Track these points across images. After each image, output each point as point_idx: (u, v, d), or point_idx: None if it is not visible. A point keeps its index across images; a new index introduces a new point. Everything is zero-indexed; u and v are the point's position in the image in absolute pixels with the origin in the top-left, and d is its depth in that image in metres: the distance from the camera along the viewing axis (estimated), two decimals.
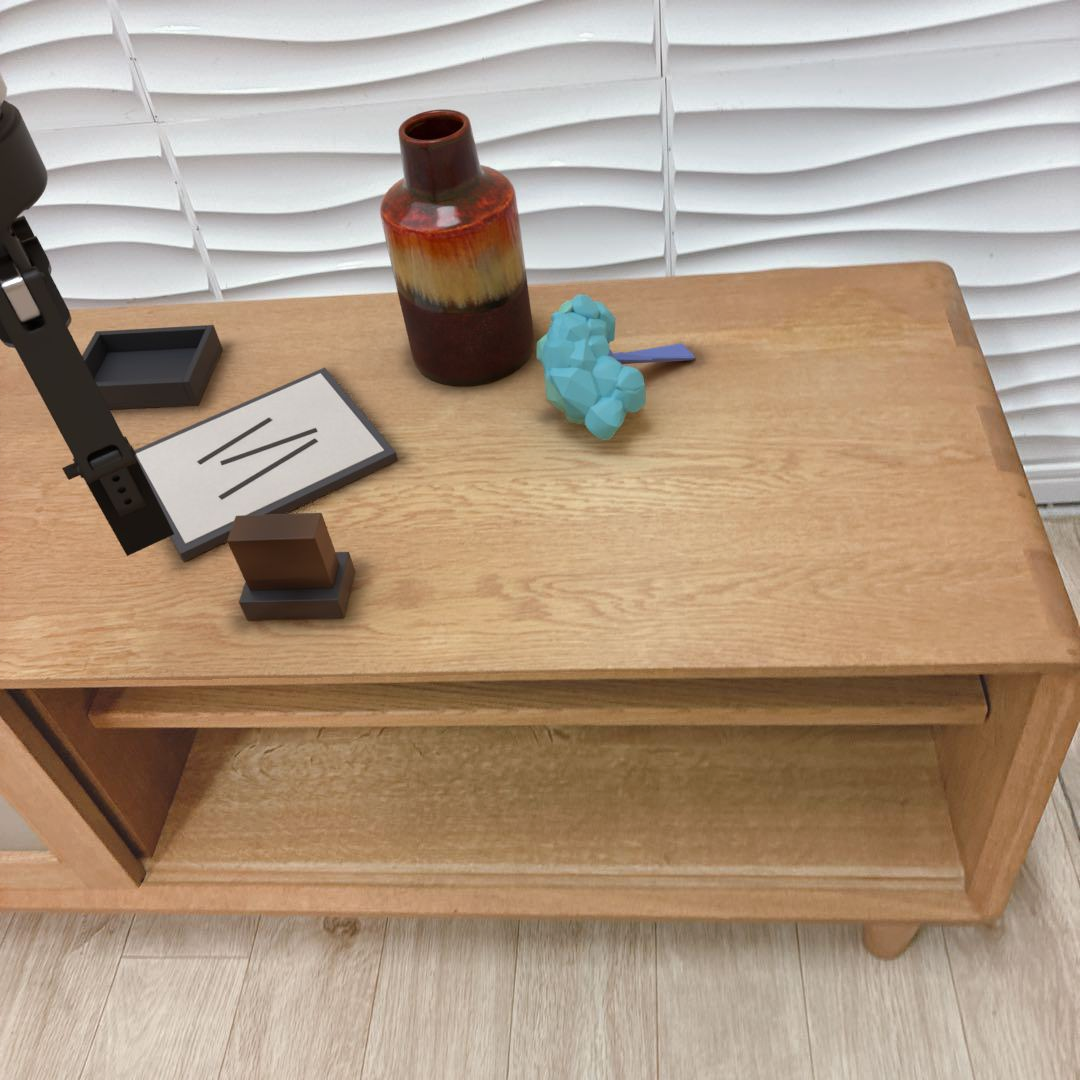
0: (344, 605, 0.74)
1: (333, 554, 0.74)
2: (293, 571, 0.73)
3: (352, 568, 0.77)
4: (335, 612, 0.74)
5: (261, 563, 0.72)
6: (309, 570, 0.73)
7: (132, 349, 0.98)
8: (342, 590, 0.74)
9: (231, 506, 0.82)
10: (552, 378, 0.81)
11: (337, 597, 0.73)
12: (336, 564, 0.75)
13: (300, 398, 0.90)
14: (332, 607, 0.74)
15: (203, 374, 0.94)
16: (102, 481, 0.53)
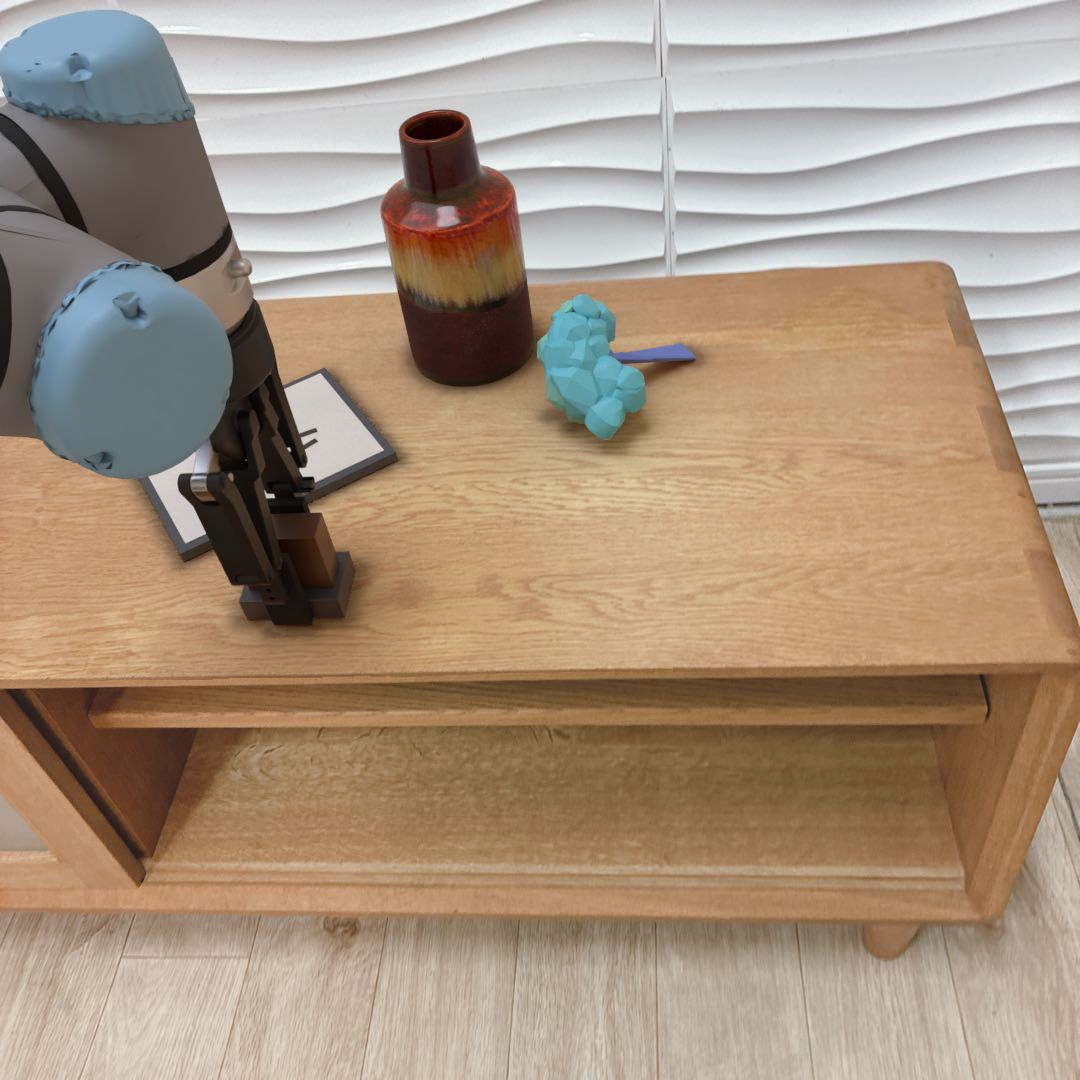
0: (344, 604, 0.74)
1: (333, 554, 0.74)
2: None
3: (352, 568, 0.77)
4: (335, 612, 0.74)
5: None
6: (309, 570, 0.73)
7: None
8: (342, 590, 0.74)
9: None
10: (552, 378, 0.81)
11: (337, 596, 0.73)
12: (336, 564, 0.75)
13: (300, 398, 0.90)
14: (332, 606, 0.74)
15: None
16: None
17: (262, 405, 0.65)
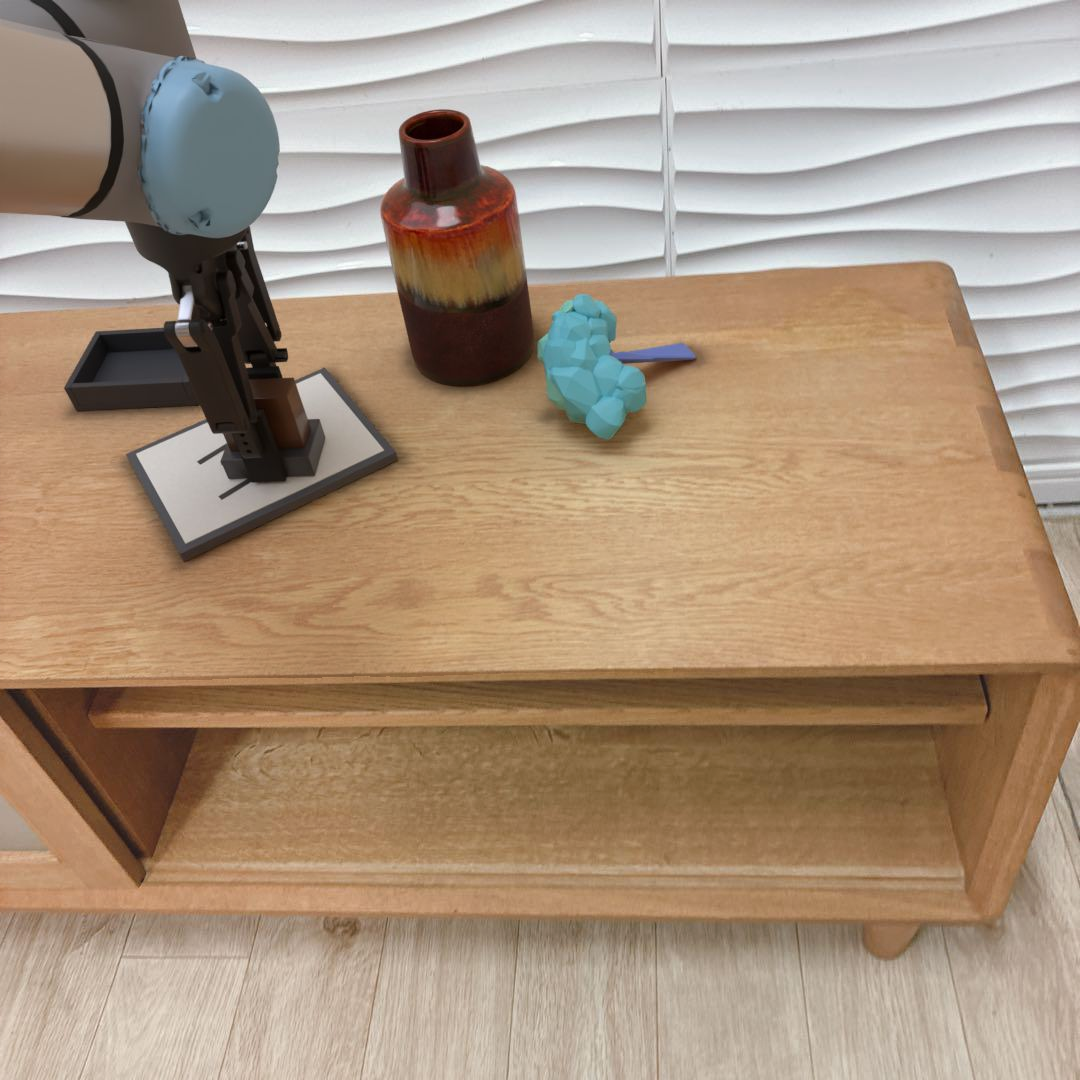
0: (314, 464, 0.83)
1: (304, 418, 0.83)
2: None
3: (322, 434, 0.86)
4: (307, 470, 0.83)
5: None
6: (283, 430, 0.81)
7: (132, 349, 0.98)
8: (313, 450, 0.83)
9: (231, 506, 0.82)
10: (553, 377, 0.81)
11: (308, 454, 0.82)
12: (307, 428, 0.84)
13: None
14: (303, 464, 0.82)
15: None
16: (233, 433, 0.78)
17: (239, 270, 0.74)
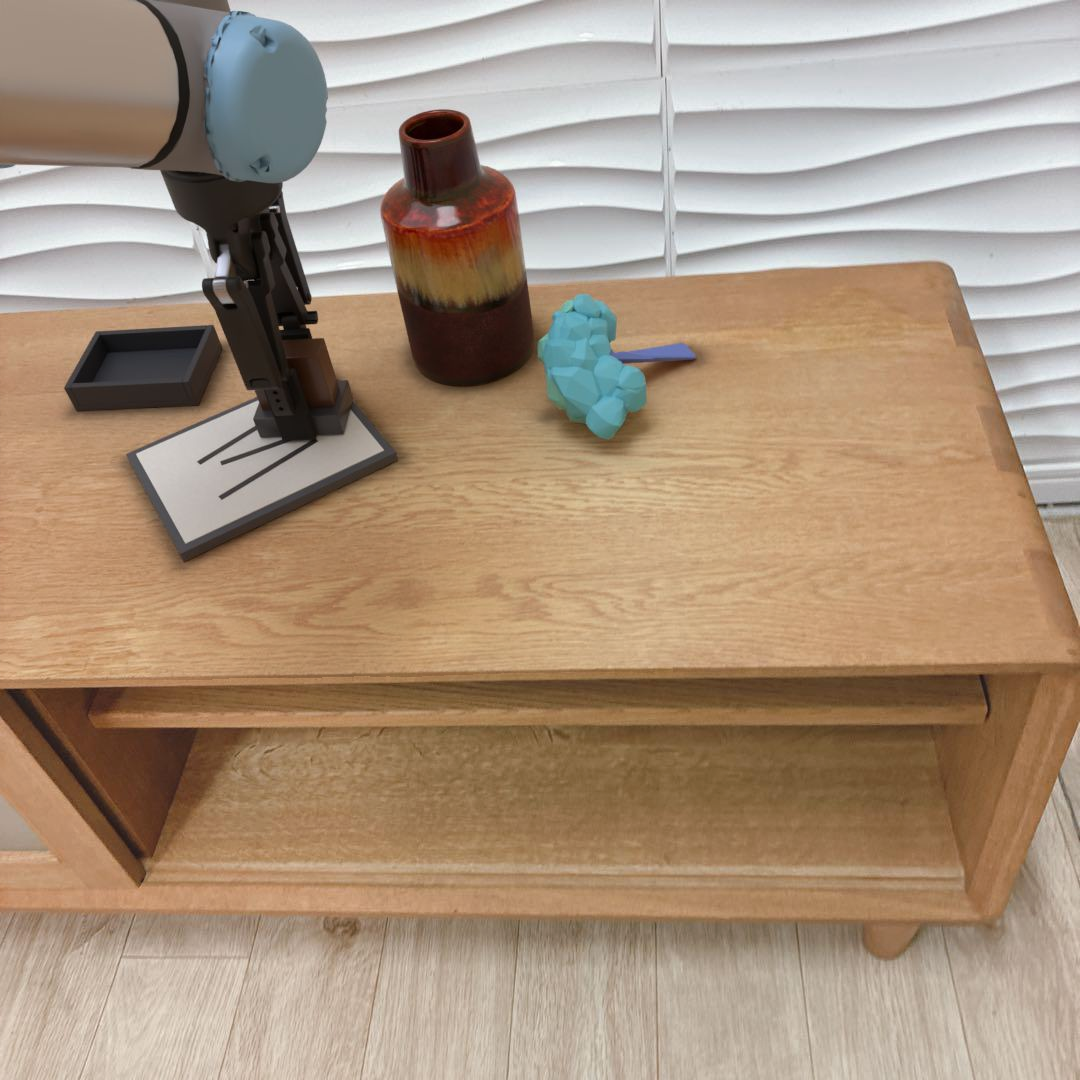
0: (343, 423, 0.86)
1: (334, 378, 0.86)
2: None
3: (350, 395, 0.89)
4: (336, 428, 0.86)
5: None
6: (313, 389, 0.84)
7: (132, 349, 0.98)
8: (342, 409, 0.86)
9: (231, 506, 0.82)
10: (553, 377, 0.81)
11: (337, 413, 0.85)
12: (336, 388, 0.87)
13: None
14: (333, 422, 0.86)
15: (203, 374, 0.94)
16: (266, 391, 0.81)
17: (272, 232, 0.77)
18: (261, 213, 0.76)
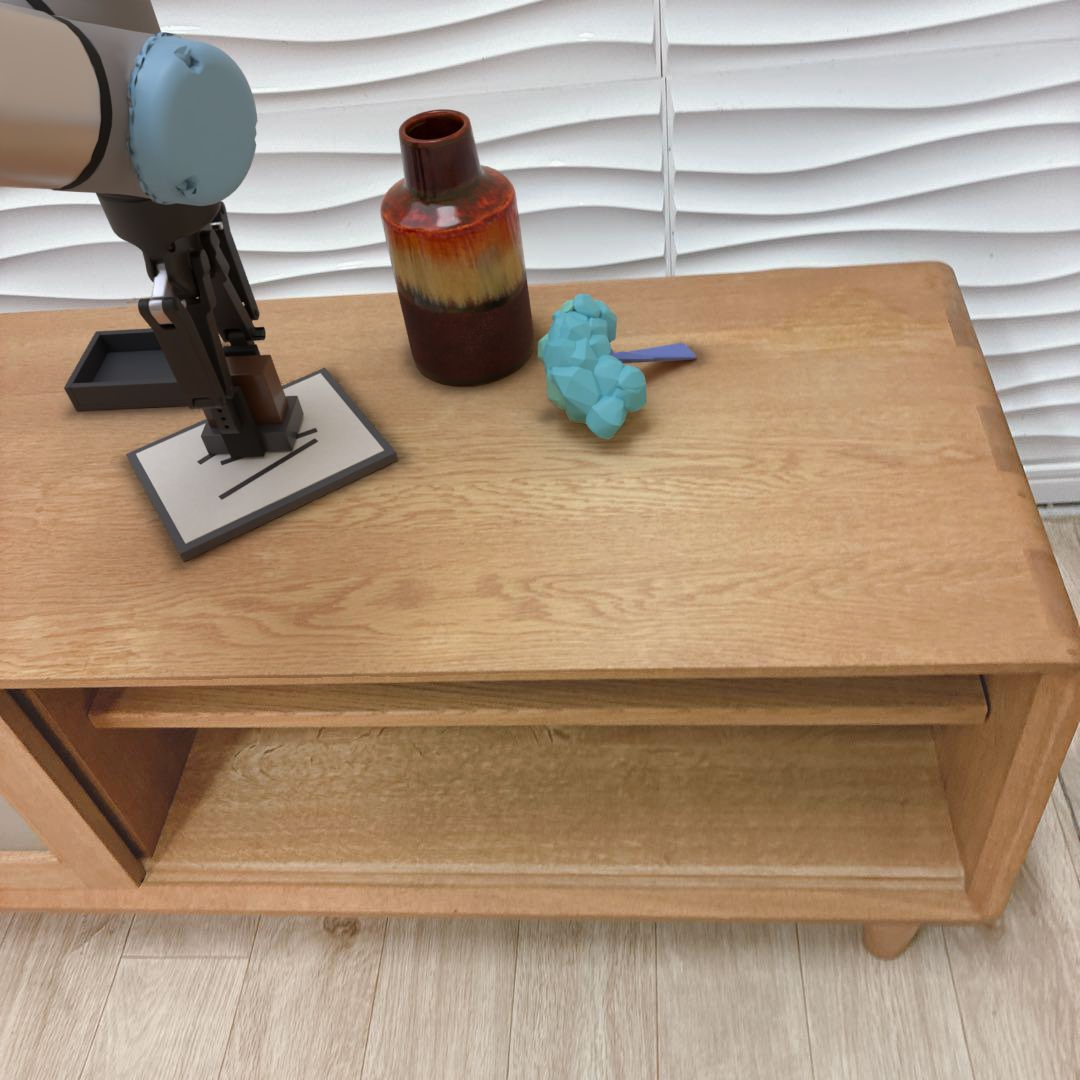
0: (292, 439, 0.86)
1: (282, 394, 0.85)
2: None
3: (300, 411, 0.88)
4: (284, 445, 0.85)
5: None
6: (260, 406, 0.84)
7: (132, 349, 0.98)
8: (290, 426, 0.85)
9: (231, 506, 0.82)
10: (553, 377, 0.81)
11: (285, 430, 0.84)
12: (285, 404, 0.86)
13: (300, 398, 0.90)
14: (281, 439, 0.85)
15: None
16: (211, 409, 0.80)
17: (213, 249, 0.76)
18: (201, 231, 0.75)
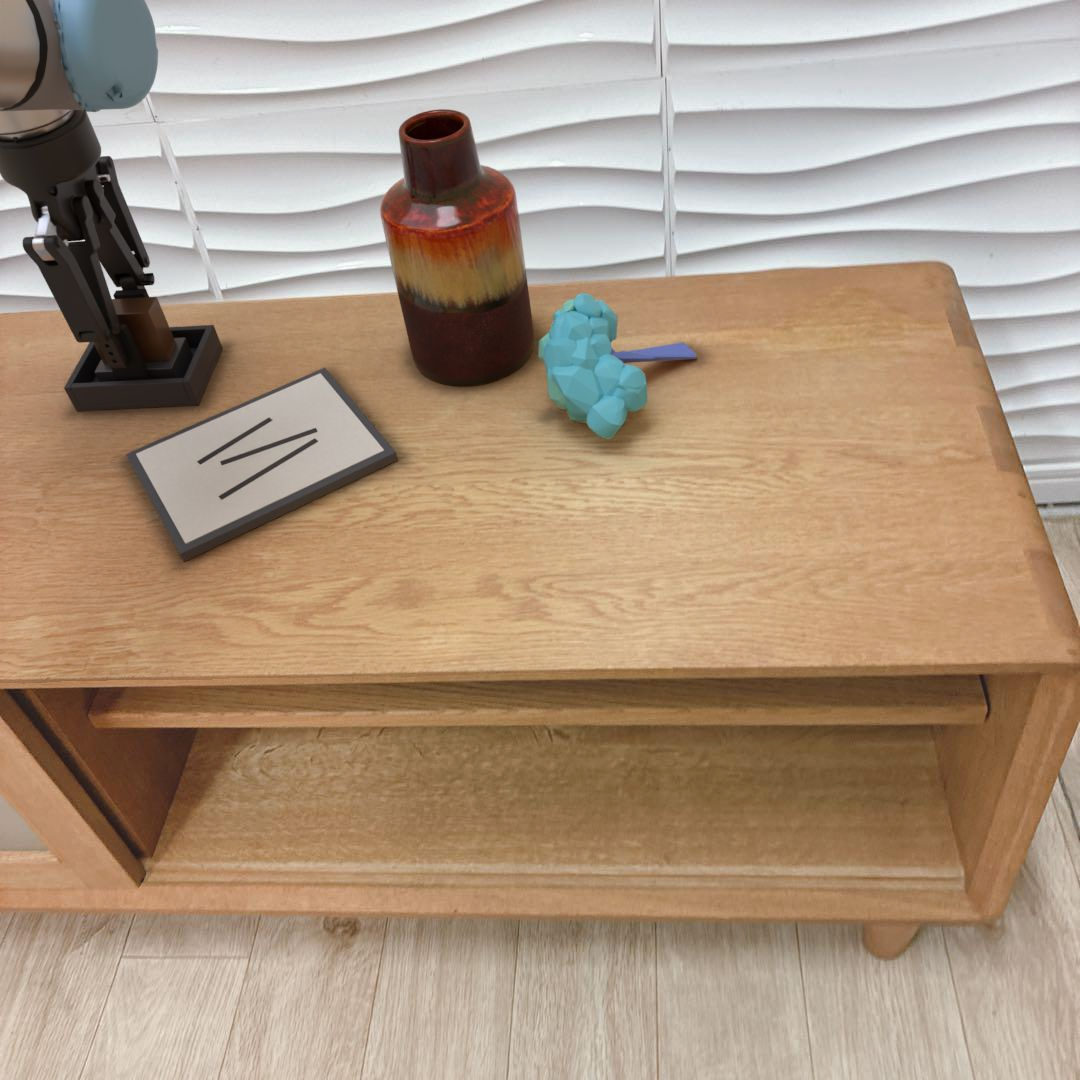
0: (179, 376, 0.94)
1: (169, 335, 0.94)
2: None
3: (189, 352, 0.96)
4: None
5: None
6: (148, 344, 0.92)
7: None
8: (177, 363, 0.94)
9: (231, 506, 0.82)
10: (554, 377, 0.81)
11: (171, 366, 0.93)
12: (173, 344, 0.94)
13: (300, 398, 0.90)
14: (168, 375, 0.93)
15: (203, 374, 0.94)
16: (99, 344, 0.89)
17: (97, 197, 0.84)
18: (86, 180, 0.84)
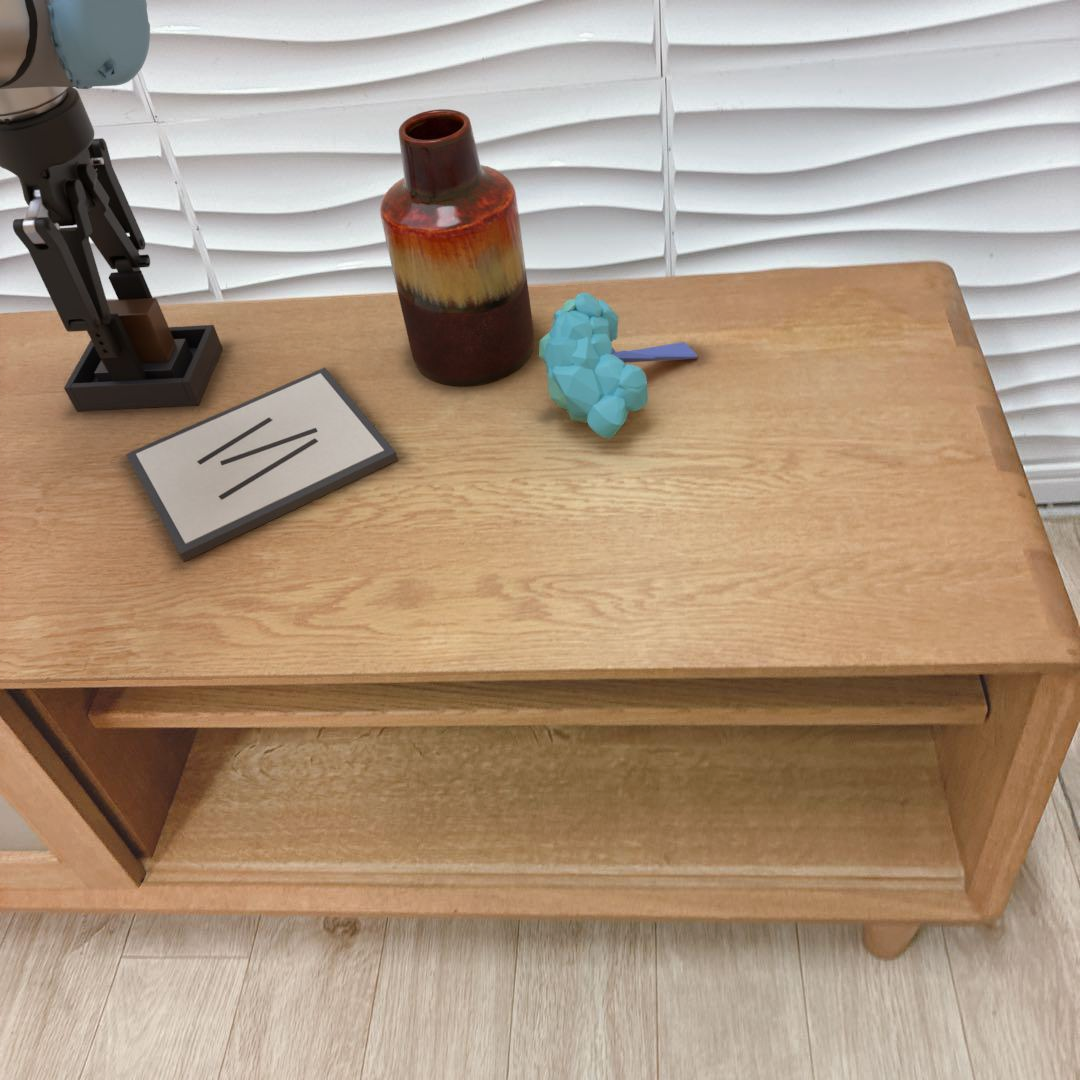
0: (178, 377, 0.94)
1: (169, 336, 0.93)
2: (135, 345, 0.92)
3: (189, 353, 0.96)
4: None
5: None
6: (147, 345, 0.92)
7: None
8: (176, 365, 0.94)
9: (231, 506, 0.82)
10: (555, 376, 0.81)
11: (170, 367, 0.93)
12: (172, 345, 0.94)
13: (300, 398, 0.90)
14: (167, 376, 0.93)
15: (203, 374, 0.94)
16: (89, 333, 0.87)
17: (90, 181, 0.83)
18: (79, 164, 0.83)
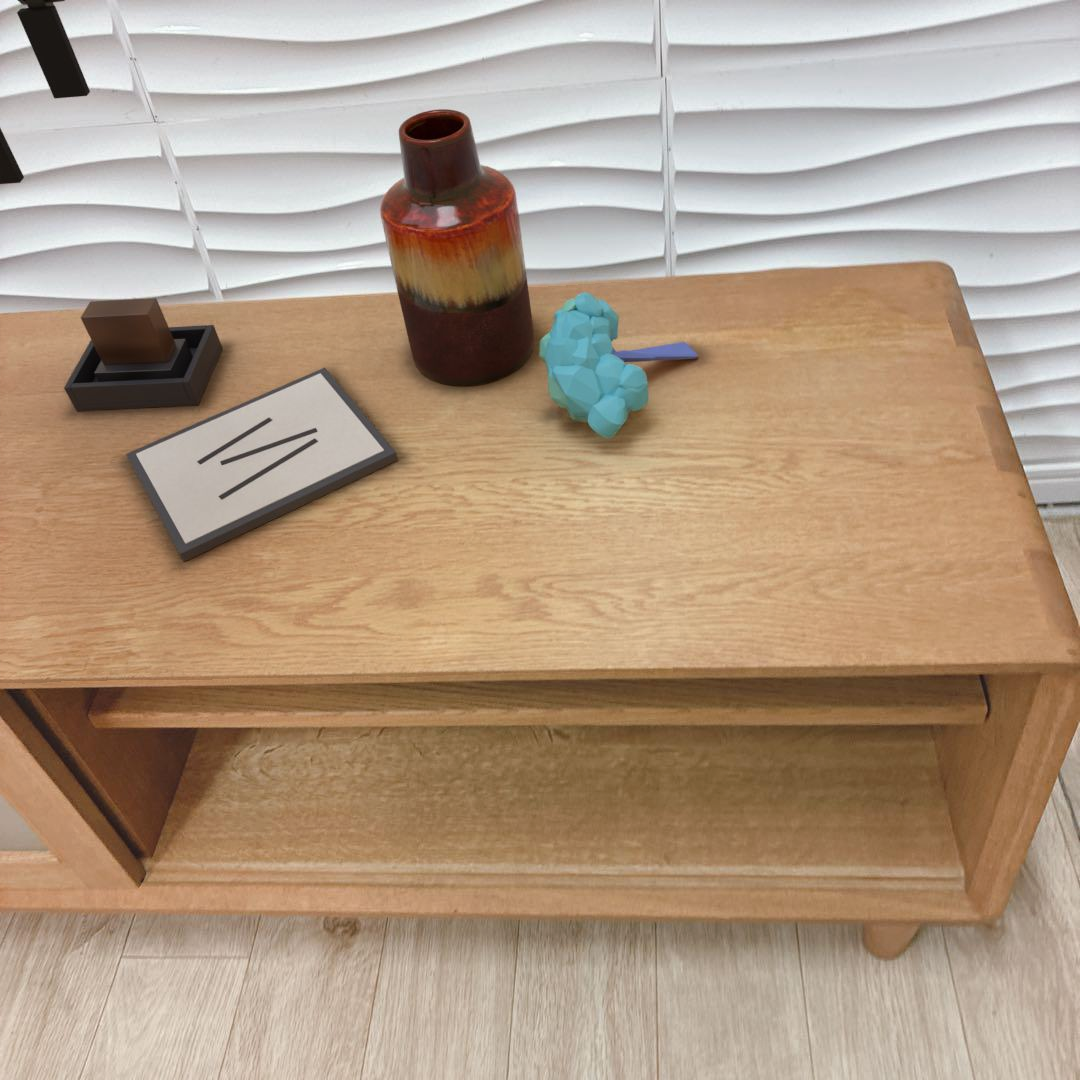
0: (178, 377, 0.94)
1: (169, 336, 0.93)
2: (135, 345, 0.92)
3: (189, 353, 0.96)
4: None
5: (109, 338, 0.92)
6: (147, 345, 0.92)
7: None
8: (176, 365, 0.94)
9: (231, 506, 0.82)
10: (555, 376, 0.81)
11: (170, 367, 0.93)
12: (172, 345, 0.94)
13: (300, 398, 0.90)
14: (167, 376, 0.93)
15: (203, 374, 0.94)
16: None
17: None
18: None
